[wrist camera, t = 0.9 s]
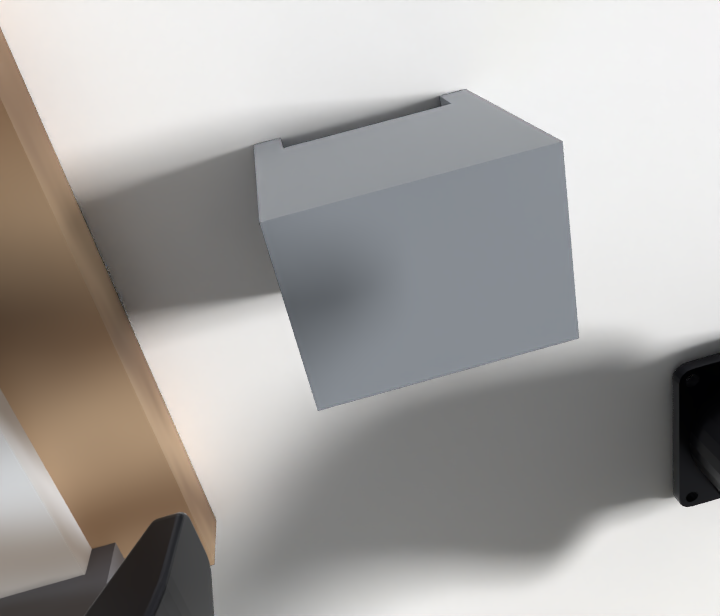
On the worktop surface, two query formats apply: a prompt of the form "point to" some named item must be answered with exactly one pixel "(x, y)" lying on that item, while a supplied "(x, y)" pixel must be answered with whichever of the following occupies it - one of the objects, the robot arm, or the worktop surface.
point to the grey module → (419, 246)
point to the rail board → (71, 393)
